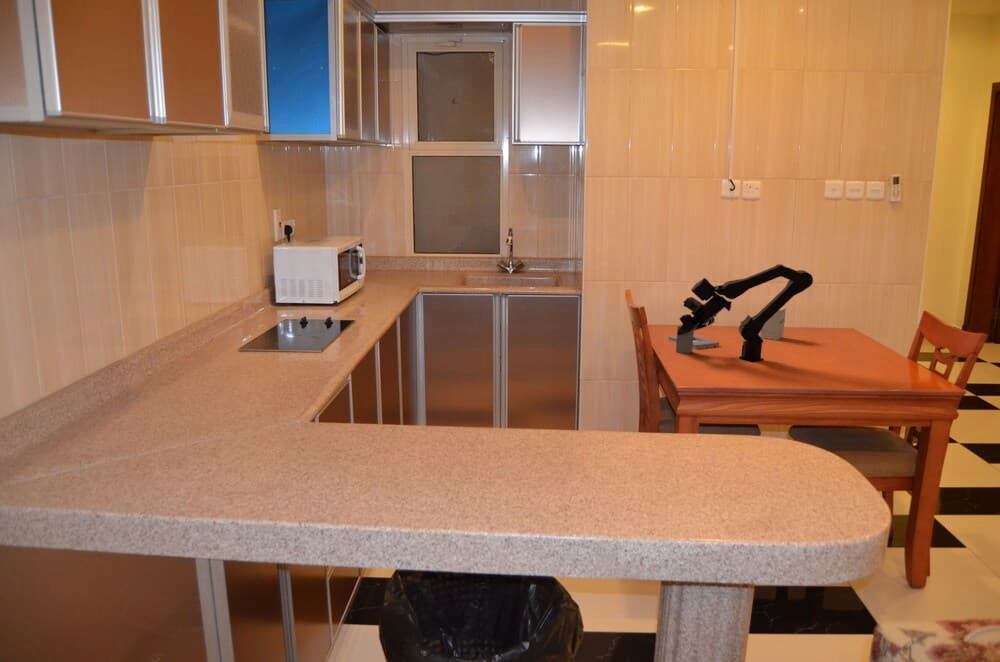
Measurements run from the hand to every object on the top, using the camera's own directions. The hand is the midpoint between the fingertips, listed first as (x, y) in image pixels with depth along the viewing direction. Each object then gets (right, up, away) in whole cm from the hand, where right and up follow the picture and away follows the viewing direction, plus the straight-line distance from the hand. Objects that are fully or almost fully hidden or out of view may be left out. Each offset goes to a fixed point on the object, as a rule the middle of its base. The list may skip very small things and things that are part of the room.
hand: (681, 333), depth 297 cm
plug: (+1, -7, +1) cm, 7 cm away
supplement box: (+44, -2, +29) cm, 53 cm away
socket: (+8, -4, +15) cm, 18 cm away
